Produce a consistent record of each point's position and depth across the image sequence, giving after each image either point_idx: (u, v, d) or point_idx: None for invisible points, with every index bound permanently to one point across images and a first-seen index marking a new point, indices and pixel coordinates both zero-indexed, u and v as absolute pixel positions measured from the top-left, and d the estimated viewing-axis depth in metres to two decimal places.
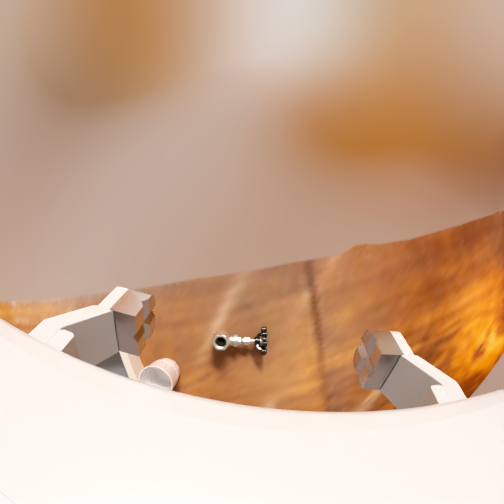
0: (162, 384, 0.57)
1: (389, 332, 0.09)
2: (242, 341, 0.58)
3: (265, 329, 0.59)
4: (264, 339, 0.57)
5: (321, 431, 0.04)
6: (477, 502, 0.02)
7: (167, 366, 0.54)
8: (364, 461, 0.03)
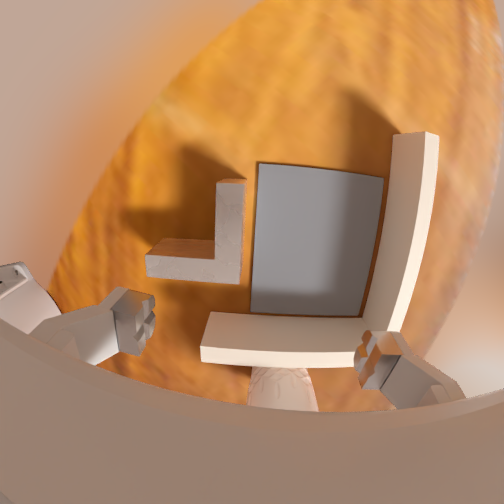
0: None
1: (389, 331, 0.09)
2: None
3: None
4: None
5: (321, 431, 0.04)
6: (478, 501, 0.02)
7: None
8: (364, 461, 0.03)
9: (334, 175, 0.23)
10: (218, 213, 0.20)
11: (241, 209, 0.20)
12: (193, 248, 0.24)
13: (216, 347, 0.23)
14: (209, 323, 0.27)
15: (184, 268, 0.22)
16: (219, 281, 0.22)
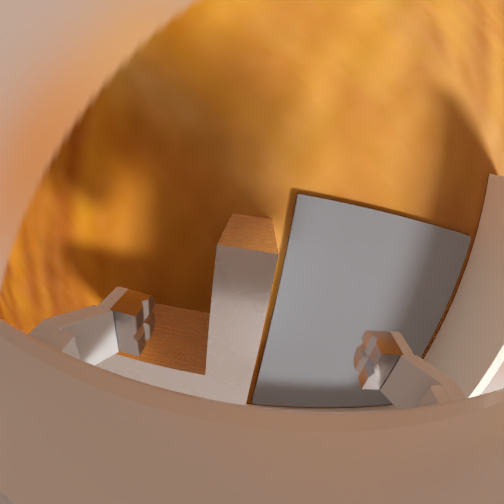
0: None
1: (389, 332, 0.09)
2: None
3: None
4: None
5: (321, 431, 0.04)
6: (477, 502, 0.02)
7: None
8: (364, 461, 0.03)
9: (414, 228, 0.13)
10: (217, 306, 0.10)
11: (266, 303, 0.09)
12: (168, 333, 0.13)
13: None
14: None
15: (152, 376, 0.11)
16: None
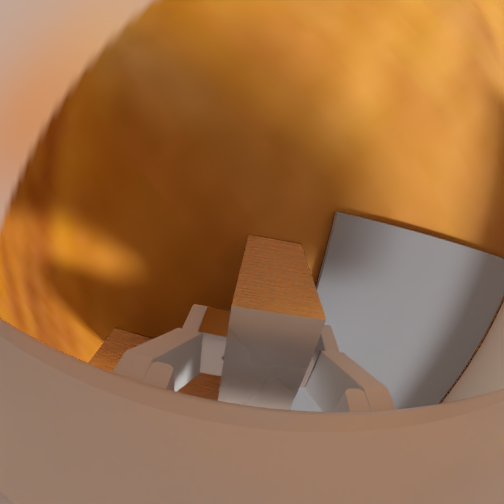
0: None
1: None
2: None
3: None
4: None
5: (322, 431, 0.04)
6: (478, 501, 0.02)
7: None
8: (364, 461, 0.03)
9: (464, 256, 0.10)
10: (229, 381, 0.06)
11: (299, 379, 0.06)
12: None
13: None
14: None
15: None
16: None
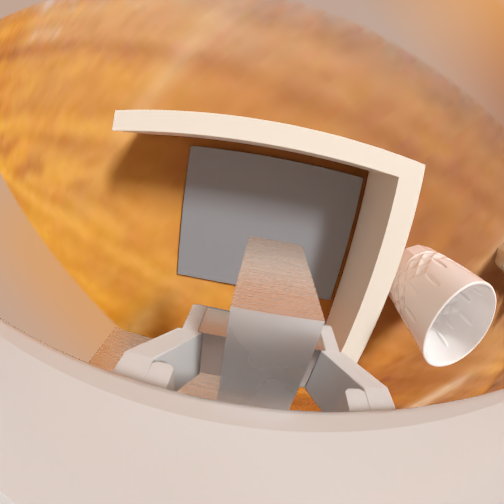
0: None
1: None
2: None
3: None
4: None
5: (321, 431, 0.04)
6: (477, 502, 0.02)
7: None
8: (364, 461, 0.03)
9: (188, 204, 0.23)
10: (228, 382, 0.06)
11: (298, 380, 0.06)
12: None
13: None
14: None
15: None
16: None
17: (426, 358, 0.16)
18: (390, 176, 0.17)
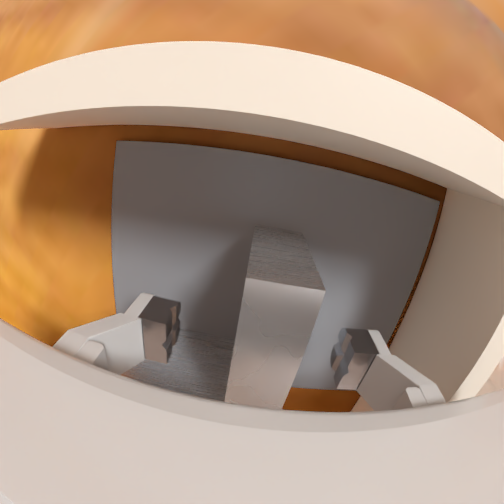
0: None
1: (366, 330, 0.09)
2: None
3: None
4: None
5: (322, 431, 0.04)
6: (477, 501, 0.02)
7: None
8: (364, 461, 0.03)
9: (119, 249, 0.12)
10: (241, 350, 0.07)
11: (303, 348, 0.07)
12: (176, 363, 0.11)
13: None
14: None
15: None
16: None
17: None
18: None
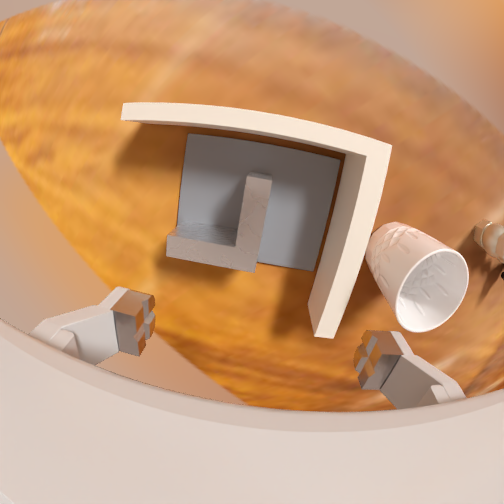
0: None
1: (389, 332, 0.09)
2: None
3: None
4: None
5: (321, 431, 0.04)
6: (478, 501, 0.02)
7: None
8: (364, 461, 0.03)
9: (185, 184, 0.26)
10: (244, 204, 0.21)
11: (267, 203, 0.21)
12: (213, 233, 0.25)
13: (318, 323, 0.24)
14: (310, 313, 0.28)
15: (204, 251, 0.23)
16: (236, 268, 0.23)
17: (400, 321, 0.19)
18: (360, 156, 0.20)
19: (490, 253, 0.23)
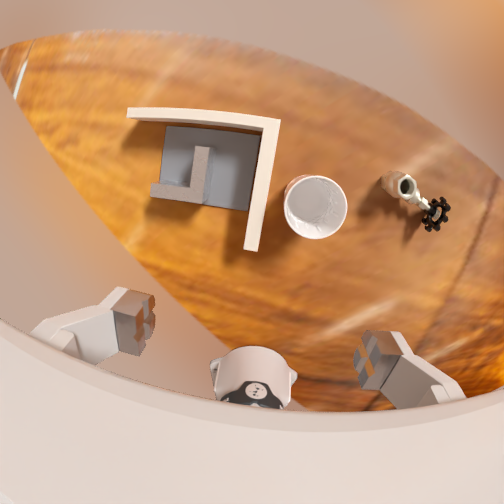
0: (294, 213, 0.40)
1: (389, 332, 0.09)
2: (419, 200, 0.36)
3: (445, 201, 0.36)
4: (444, 213, 0.35)
5: (322, 431, 0.04)
6: (477, 502, 0.02)
7: None
8: (364, 461, 0.03)
9: (164, 156, 0.40)
10: (194, 162, 0.35)
11: (207, 160, 0.35)
12: (179, 184, 0.39)
13: (245, 238, 0.38)
14: None
15: (172, 192, 0.37)
16: (190, 201, 0.37)
17: (292, 227, 0.33)
18: (263, 129, 0.34)
19: (391, 194, 0.36)
